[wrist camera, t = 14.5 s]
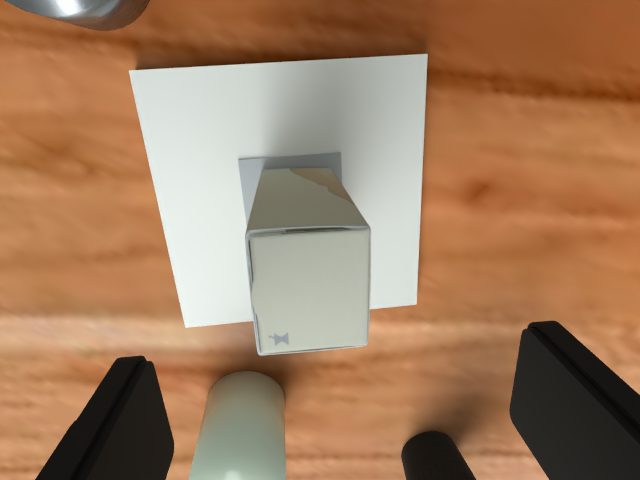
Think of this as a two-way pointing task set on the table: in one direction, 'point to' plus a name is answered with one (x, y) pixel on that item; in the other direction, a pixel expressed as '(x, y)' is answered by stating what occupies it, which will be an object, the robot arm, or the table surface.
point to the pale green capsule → (242, 430)
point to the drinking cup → (434, 459)
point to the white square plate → (282, 163)
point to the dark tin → (87, 11)
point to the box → (307, 263)
